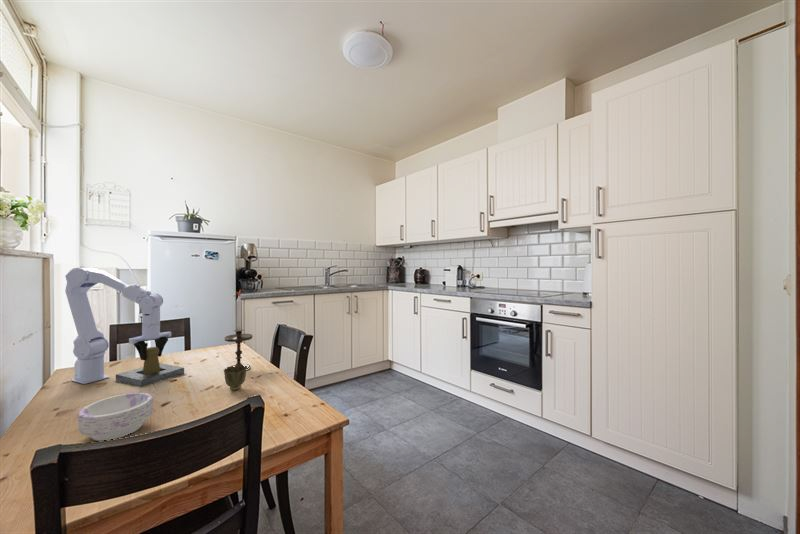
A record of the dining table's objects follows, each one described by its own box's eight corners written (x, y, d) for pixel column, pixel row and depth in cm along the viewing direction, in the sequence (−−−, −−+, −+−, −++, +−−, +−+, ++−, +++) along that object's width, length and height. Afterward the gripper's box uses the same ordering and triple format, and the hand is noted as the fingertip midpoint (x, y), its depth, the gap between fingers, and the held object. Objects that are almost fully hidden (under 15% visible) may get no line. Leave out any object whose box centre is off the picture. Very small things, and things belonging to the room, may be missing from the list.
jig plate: (115, 380, 125) (115, 374, 125) (159, 368, 140) (159, 362, 140) (140, 387, 119) (140, 380, 119) (184, 373, 134) (184, 367, 134)
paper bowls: (61, 444, 81) (61, 413, 81) (122, 416, 96) (122, 390, 96) (111, 450, 78) (111, 418, 78) (166, 421, 93) (166, 394, 93)
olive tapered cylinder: (150, 377, 126) (149, 349, 126) (138, 376, 127) (137, 348, 127) (164, 372, 132) (164, 345, 132) (152, 372, 133) (152, 345, 133)
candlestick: (244, 364, 147) (244, 287, 147) (257, 368, 141) (257, 289, 141) (219, 370, 139) (220, 289, 138) (232, 375, 132) (232, 290, 132)
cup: (223, 395, 112) (223, 372, 112) (223, 388, 119) (224, 366, 119) (247, 391, 116) (247, 369, 116) (246, 384, 122) (246, 363, 122)
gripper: (136, 328, 121) (136, 364, 121) (176, 322, 135) (176, 354, 135) (125, 326, 124) (125, 361, 124) (165, 320, 137) (165, 352, 137)
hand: (151, 357), depth 129 cm, fingers closed on olive tapered cylinder, 5 cm apart
